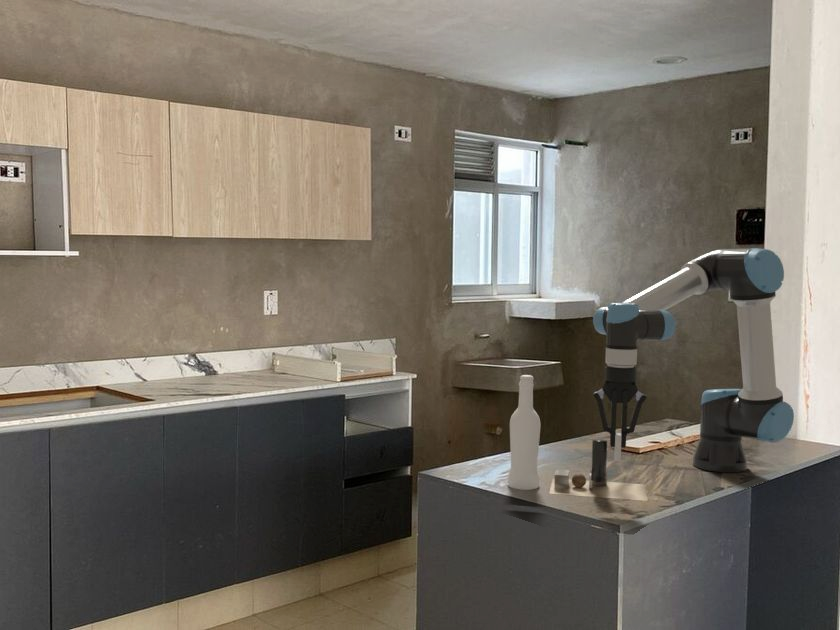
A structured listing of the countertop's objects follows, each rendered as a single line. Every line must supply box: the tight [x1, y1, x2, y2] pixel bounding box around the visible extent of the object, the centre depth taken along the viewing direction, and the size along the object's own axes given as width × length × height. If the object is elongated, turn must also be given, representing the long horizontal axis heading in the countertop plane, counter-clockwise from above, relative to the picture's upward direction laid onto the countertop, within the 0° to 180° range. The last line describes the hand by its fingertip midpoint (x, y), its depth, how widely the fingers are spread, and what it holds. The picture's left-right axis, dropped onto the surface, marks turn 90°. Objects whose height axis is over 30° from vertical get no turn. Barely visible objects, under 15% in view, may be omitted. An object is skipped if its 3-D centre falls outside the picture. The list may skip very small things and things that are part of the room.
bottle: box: [507, 374, 542, 491], centre depth 221 cm, size 8×8×30 cm
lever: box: [588, 438, 608, 488], centre depth 219 cm, size 4×15×14 cm, turn 168°
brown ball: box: [571, 473, 587, 488], centre depth 221 cm, size 4×4×4 cm
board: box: [548, 468, 649, 502], centre depth 220 cm, size 24×16×5 cm, turn 78°
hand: (617, 459), depth 212 cm, fingers closed
